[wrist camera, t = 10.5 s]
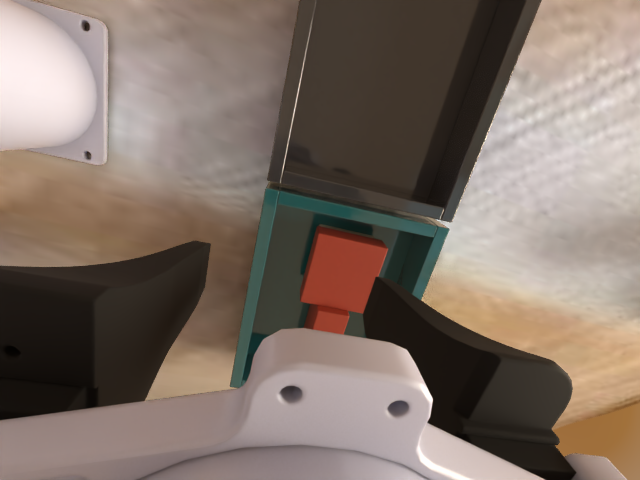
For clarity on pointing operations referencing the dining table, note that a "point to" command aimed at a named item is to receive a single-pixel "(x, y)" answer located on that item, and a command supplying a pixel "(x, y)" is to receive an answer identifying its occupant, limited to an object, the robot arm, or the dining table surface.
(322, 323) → the brush
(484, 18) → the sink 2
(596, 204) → the dining table surface
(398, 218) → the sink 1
